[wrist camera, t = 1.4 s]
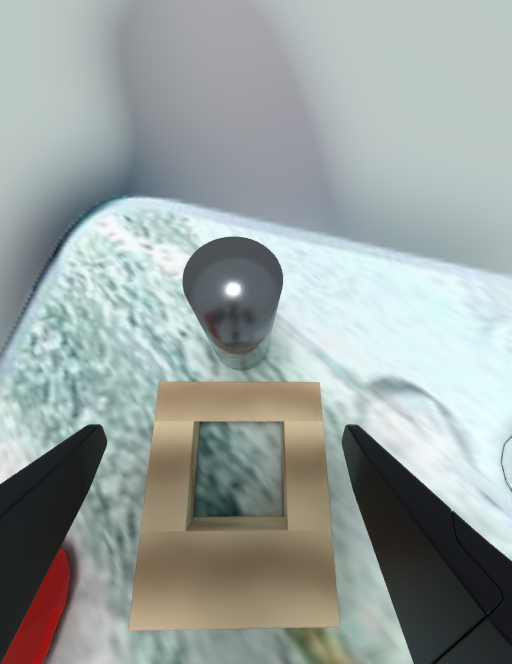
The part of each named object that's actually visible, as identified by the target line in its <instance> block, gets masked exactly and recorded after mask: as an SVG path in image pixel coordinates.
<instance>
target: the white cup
mask: <svg viewBox="0 0 512 664" xmlns="http://www.w3.org/2000/svg"><path fill="white" fill-rule="evenodd" d="M502 465H503V469H504V473H505V477H506V481H507V483H508V485H509V486H510V488H511V489H512V437H511V439H510V440H509V441H508V442H507V443H506V444H505V446H504V452H503V457H502Z"/></svg>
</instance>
